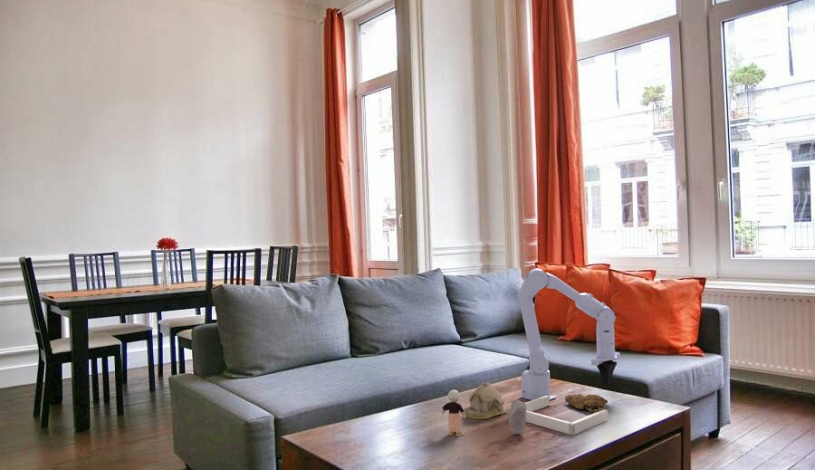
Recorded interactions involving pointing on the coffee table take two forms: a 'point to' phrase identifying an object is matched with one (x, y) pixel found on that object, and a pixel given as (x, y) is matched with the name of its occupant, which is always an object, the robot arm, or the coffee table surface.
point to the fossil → (517, 416)
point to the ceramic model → (485, 403)
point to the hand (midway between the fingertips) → (606, 383)
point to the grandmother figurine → (454, 413)
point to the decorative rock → (587, 402)
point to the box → (561, 424)
